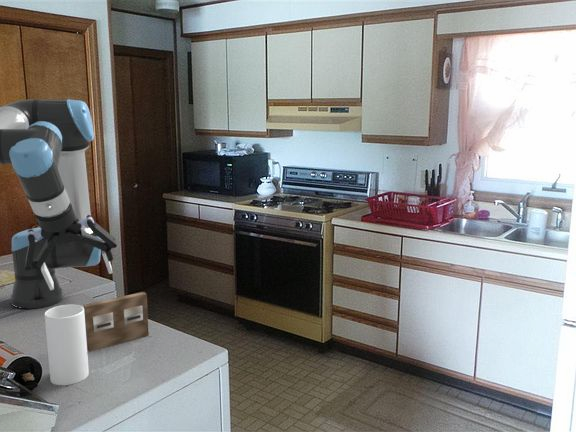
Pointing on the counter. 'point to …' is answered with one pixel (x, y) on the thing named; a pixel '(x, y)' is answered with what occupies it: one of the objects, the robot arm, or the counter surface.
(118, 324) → the label board
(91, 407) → the counter surface
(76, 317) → the cup
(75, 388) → the counter surface
